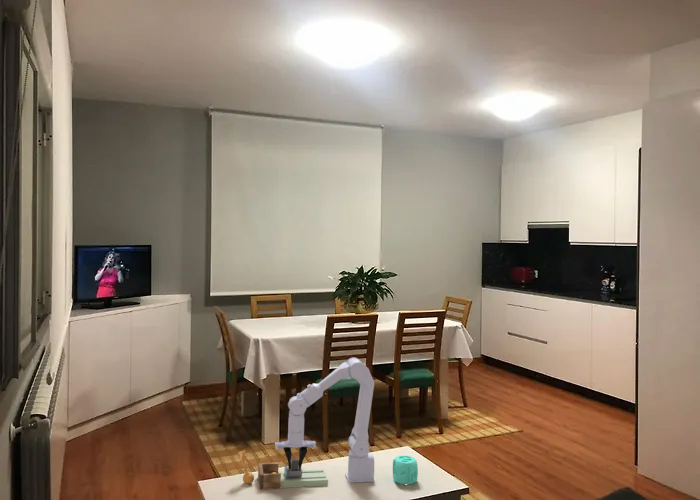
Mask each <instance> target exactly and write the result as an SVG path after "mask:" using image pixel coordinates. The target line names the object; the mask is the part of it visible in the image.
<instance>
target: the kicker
mask: <svg viewBox="0 0 700 500" xmlns="http://www.w3.org/2000/svg"><path fill="white" fill-rule="evenodd" d="M302 470H303V469H302V468H301V469H299V457H291V469H289V467H288V465H287V464H285V465H284V470H283V471H285V476H286V479H289V477H298V476H302Z"/></svg>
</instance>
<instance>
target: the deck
mask: <svg viewBox="0 0 700 500" xmlns="http://www.w3.org/2000/svg"><path fill="white" fill-rule="evenodd" d="M278 473H281V487H280V489H281V488H285V489H286V488H301V487H302V488H305V487H319V486H320V487H322V486H326V487H327V486H328V485H329V479H328V476H327V475H326V471H325V469H324V468H322V469H321V468H320V469H317V468H316V469H302V476H298V477H289V479H286V476H285V471H284V470H278Z"/></svg>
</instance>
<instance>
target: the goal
mask: <svg viewBox="0 0 700 500" xmlns="http://www.w3.org/2000/svg"><path fill="white" fill-rule="evenodd" d="M257 470H258V474H257V478H258V487H259V490H260V491H261V490H280V489H281V488H280V487H281V473H278V471H279V462H277V461H276V462H258V469H257ZM273 472H276V473H273ZM271 473H272V474H271Z"/></svg>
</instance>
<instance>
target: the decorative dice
mask: <svg viewBox="0 0 700 500" xmlns="http://www.w3.org/2000/svg"><path fill="white" fill-rule="evenodd" d="M418 471H419V468H418V461H417V459H416V458H415V457H413V456H410V455H398V456H395V457H394V458H393V460H392V477H393V481H394V482H395V483H397V484H398V483H399V485H402V484H410V485H413V484H415V483H416V482H417V481H418V477H419V476H418V475H419V473H418Z"/></svg>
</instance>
